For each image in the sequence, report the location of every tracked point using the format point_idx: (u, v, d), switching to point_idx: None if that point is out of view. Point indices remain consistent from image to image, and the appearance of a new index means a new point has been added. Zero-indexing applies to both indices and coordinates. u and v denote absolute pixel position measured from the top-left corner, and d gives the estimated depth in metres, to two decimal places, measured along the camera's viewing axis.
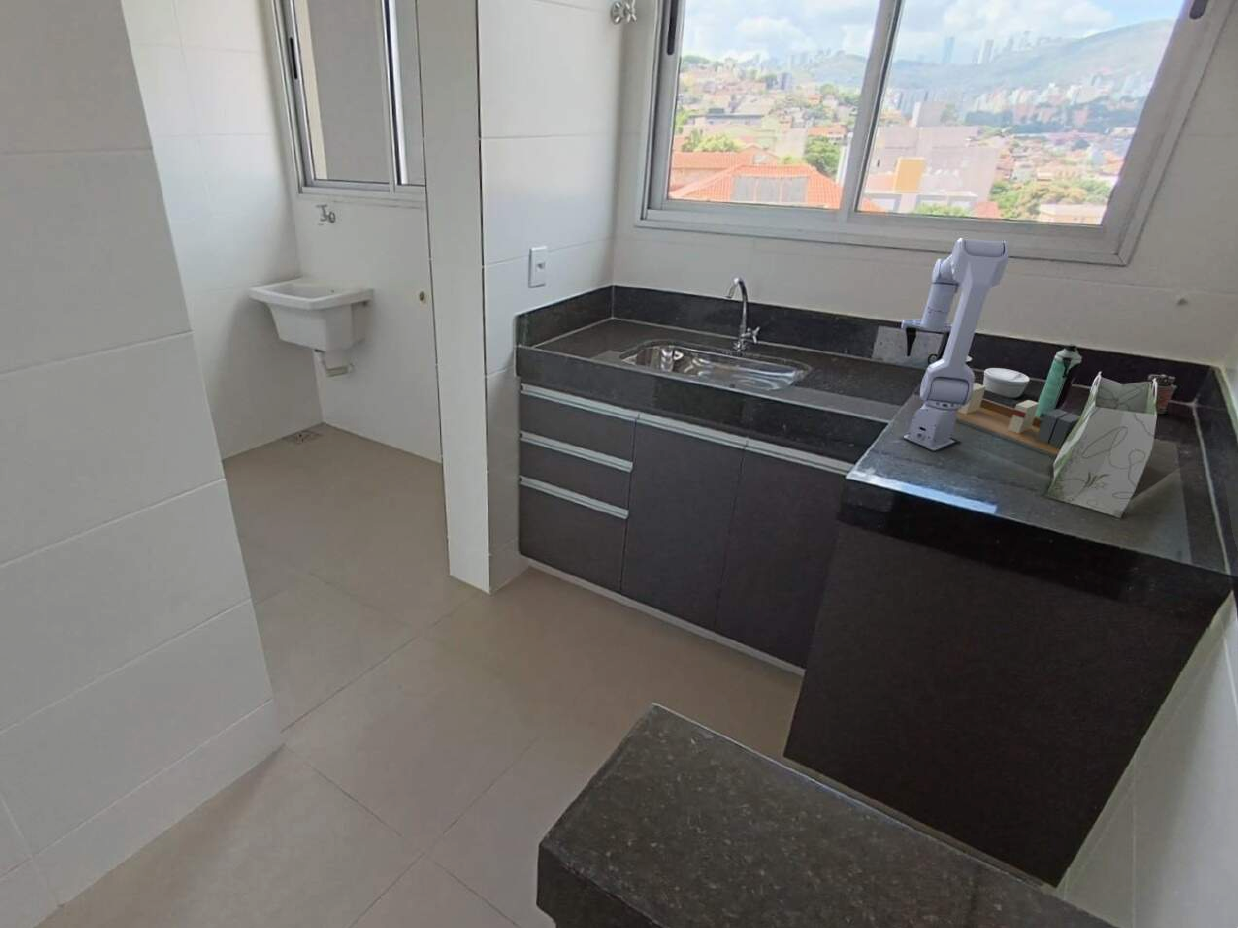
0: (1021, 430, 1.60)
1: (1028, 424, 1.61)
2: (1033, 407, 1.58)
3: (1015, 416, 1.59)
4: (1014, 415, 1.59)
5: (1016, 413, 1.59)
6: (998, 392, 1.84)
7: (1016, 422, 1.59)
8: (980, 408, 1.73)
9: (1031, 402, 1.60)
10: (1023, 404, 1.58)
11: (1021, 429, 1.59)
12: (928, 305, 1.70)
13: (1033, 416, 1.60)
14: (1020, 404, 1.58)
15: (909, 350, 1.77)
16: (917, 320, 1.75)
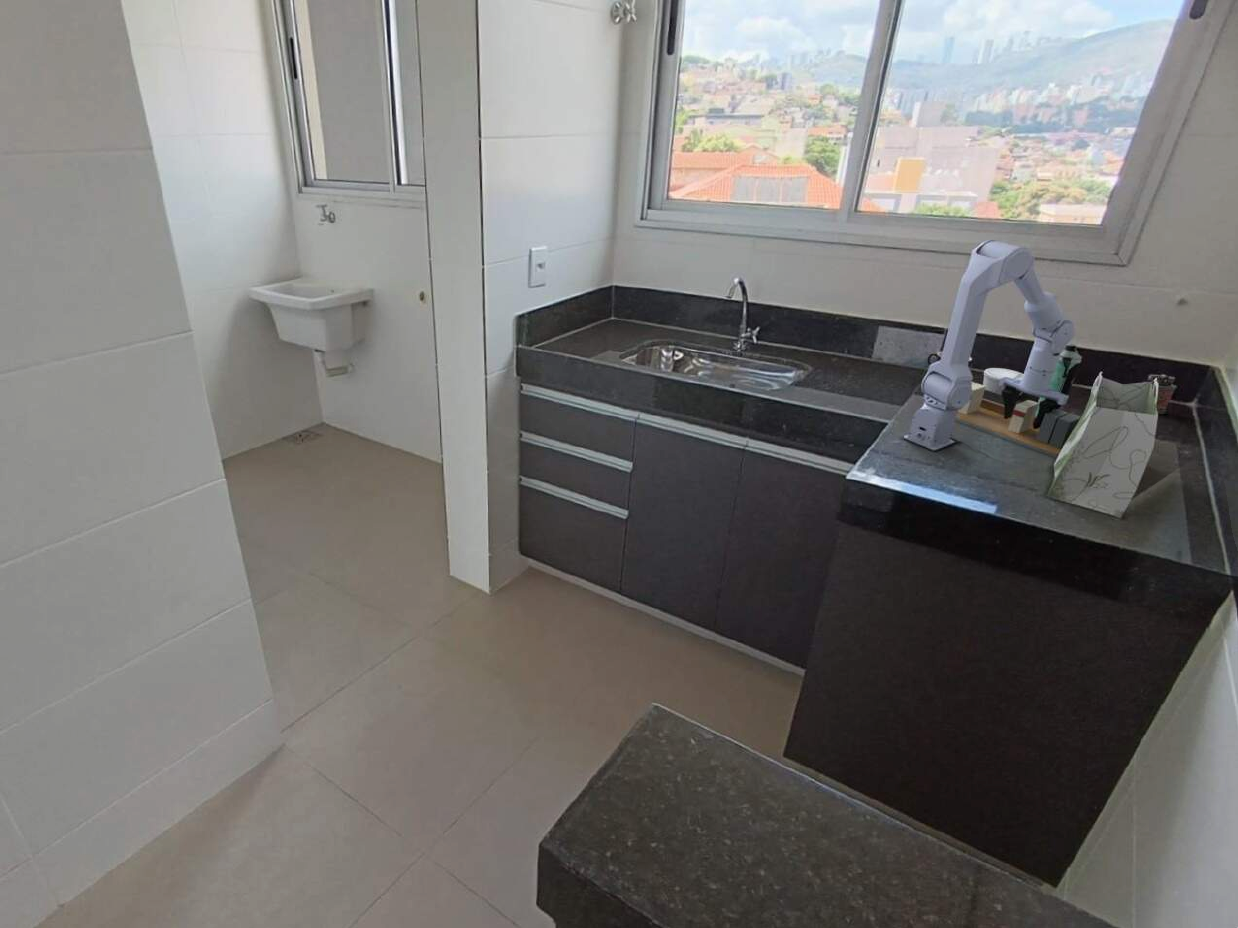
0: (1021, 430, 1.60)
1: (1028, 424, 1.61)
2: (1033, 407, 1.58)
3: (1015, 416, 1.59)
4: (1014, 415, 1.59)
5: (1016, 413, 1.59)
6: (998, 392, 1.84)
7: (1016, 422, 1.59)
8: (980, 408, 1.73)
9: (1031, 402, 1.60)
10: (1023, 404, 1.58)
11: (1021, 429, 1.59)
12: None
13: (1033, 416, 1.60)
14: (1020, 404, 1.58)
15: (1005, 411, 1.62)
16: None
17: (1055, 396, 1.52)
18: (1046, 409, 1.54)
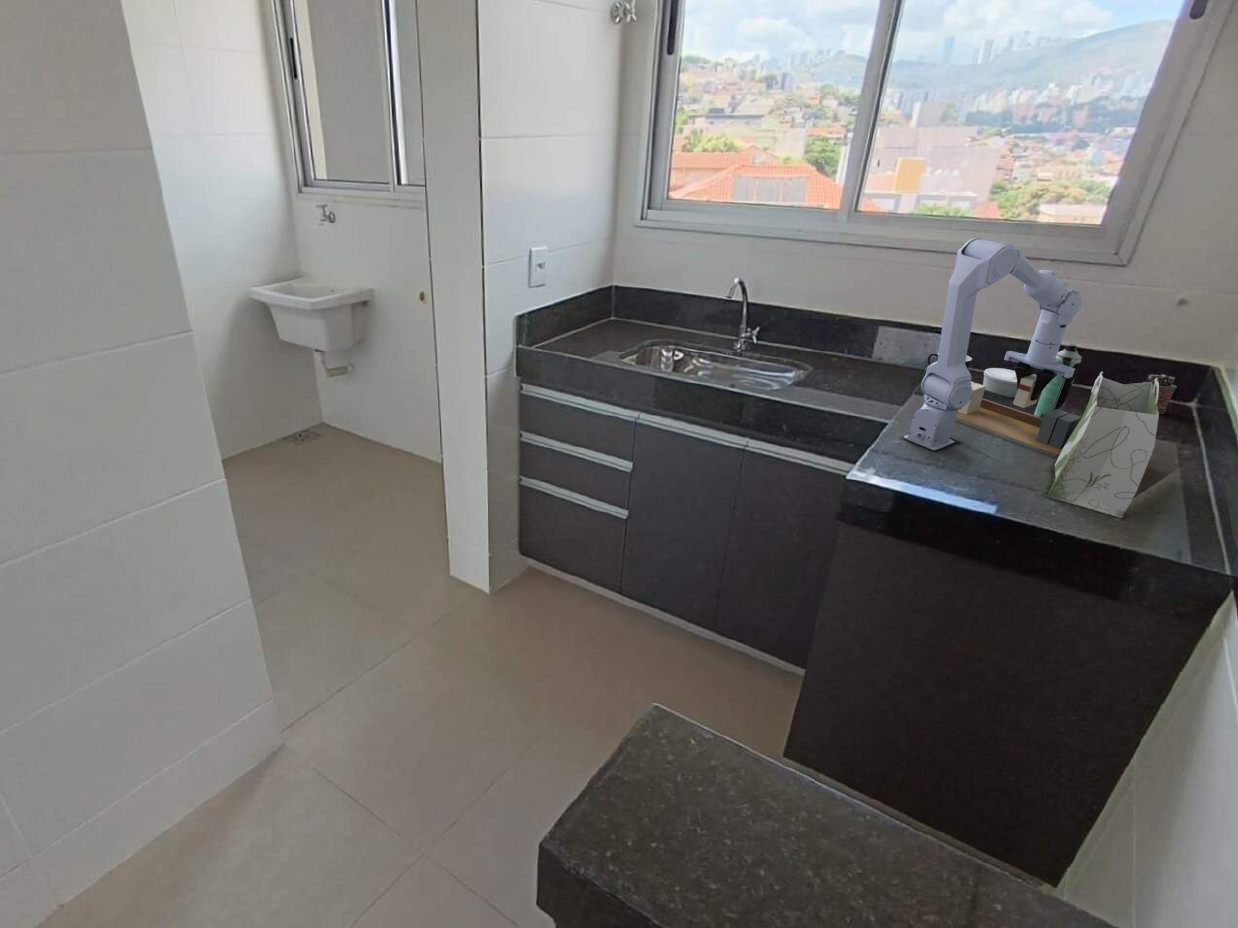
0: (1026, 405, 1.57)
1: None
2: None
3: (1020, 391, 1.57)
4: (1019, 389, 1.57)
5: (1021, 387, 1.56)
6: (998, 392, 1.84)
7: (1021, 396, 1.57)
8: (980, 408, 1.73)
9: (1036, 376, 1.57)
10: (1028, 378, 1.56)
11: (1026, 403, 1.57)
12: None
13: None
14: (1025, 378, 1.56)
15: None
16: (1027, 355, 1.58)
17: (1061, 369, 1.50)
18: (1043, 380, 1.53)
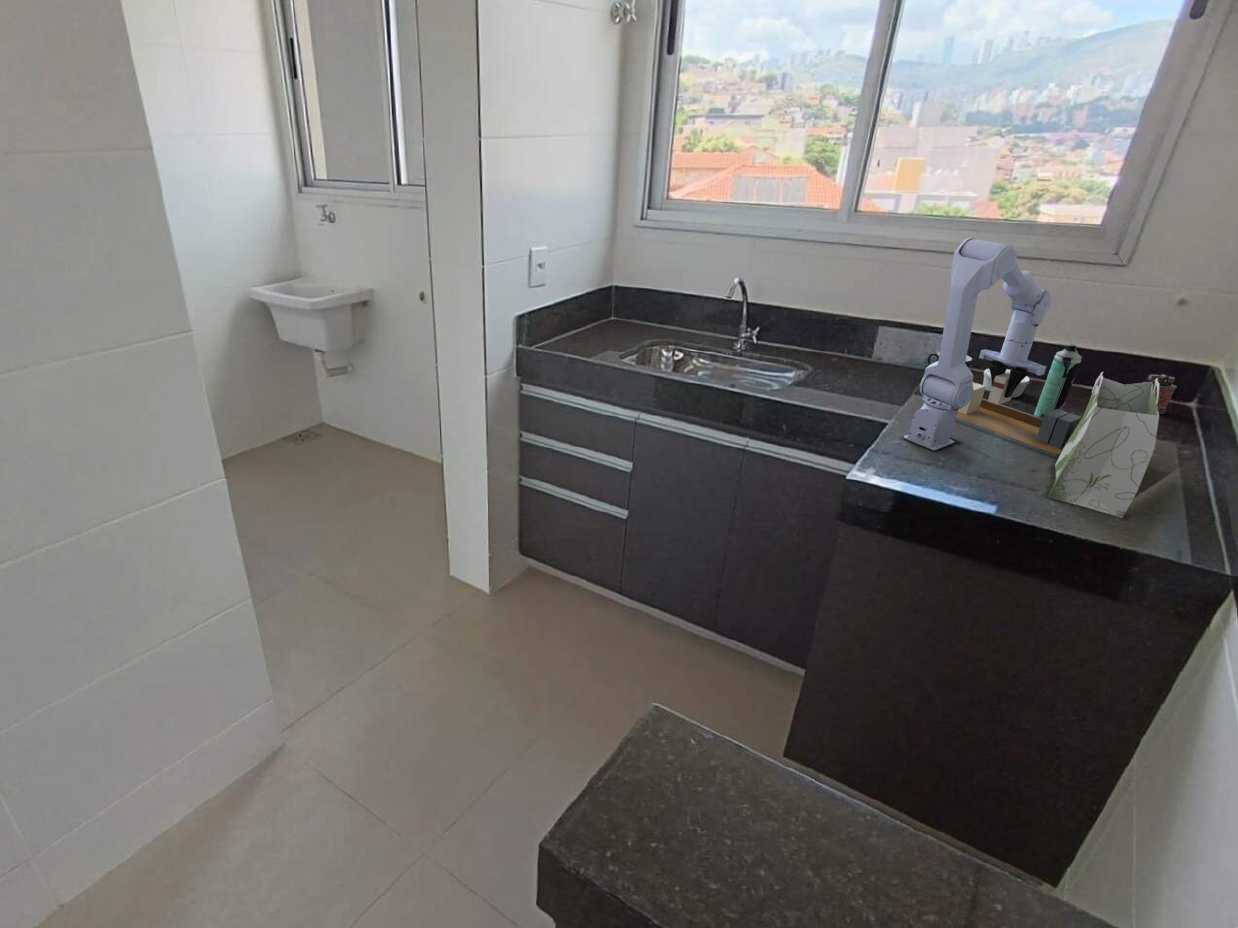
0: (1000, 401, 1.62)
1: None
2: None
3: (994, 388, 1.61)
4: (993, 387, 1.61)
5: (995, 385, 1.61)
6: None
7: (995, 393, 1.61)
8: (980, 408, 1.73)
9: None
10: (1002, 375, 1.61)
11: (1000, 400, 1.61)
12: (1006, 334, 1.58)
13: None
14: (999, 376, 1.61)
15: None
16: None
17: (1033, 367, 1.55)
18: (1016, 377, 1.57)
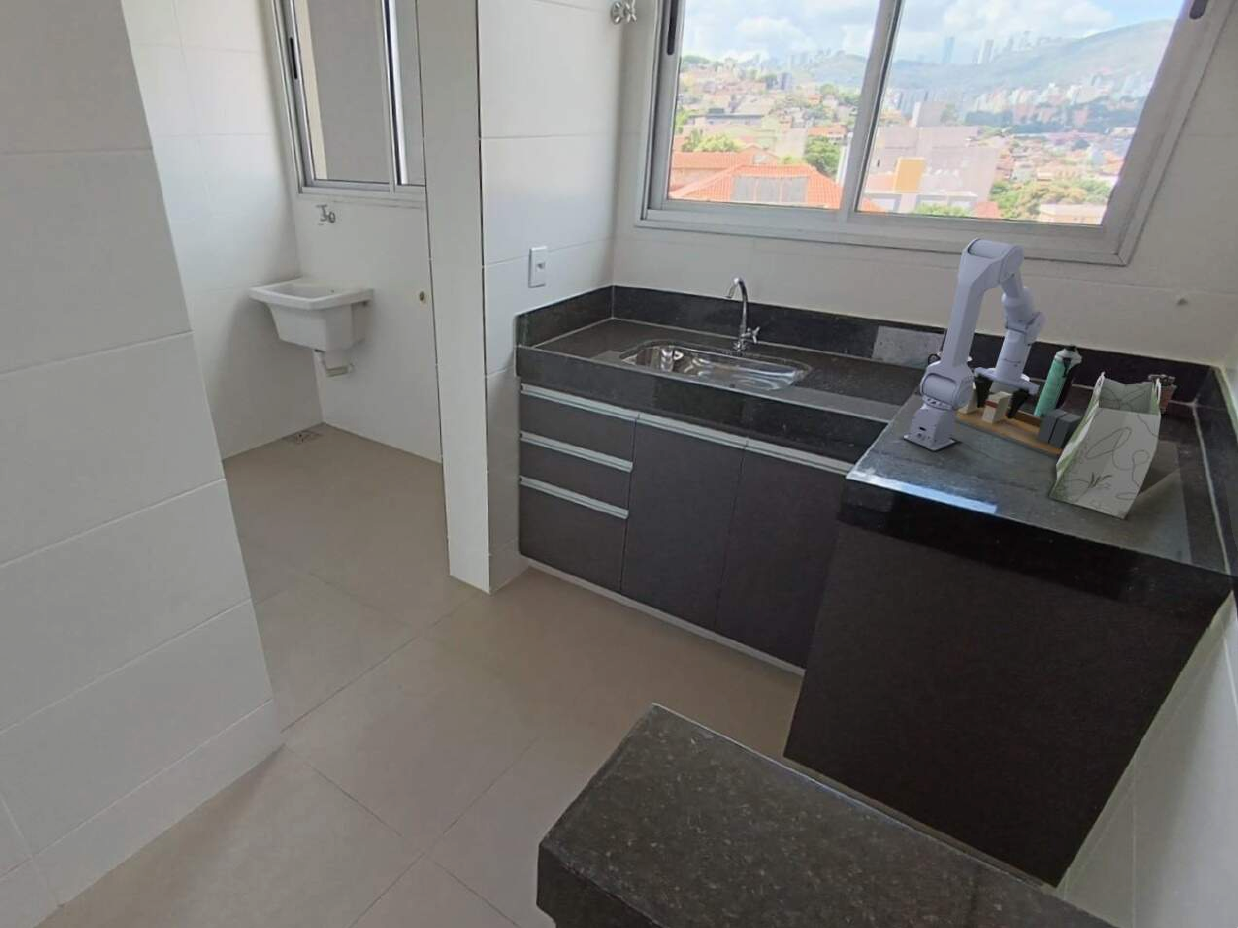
0: (994, 420, 1.64)
1: (1001, 415, 1.65)
2: (1005, 398, 1.63)
3: (988, 407, 1.64)
4: (987, 406, 1.64)
5: (989, 404, 1.63)
6: None
7: (989, 412, 1.64)
8: (980, 408, 1.73)
9: (1004, 393, 1.64)
10: (996, 395, 1.63)
11: (994, 419, 1.64)
12: (1000, 353, 1.60)
13: (1006, 407, 1.65)
14: (993, 395, 1.63)
15: (978, 400, 1.67)
16: None
17: (1026, 386, 1.57)
18: (1019, 399, 1.58)
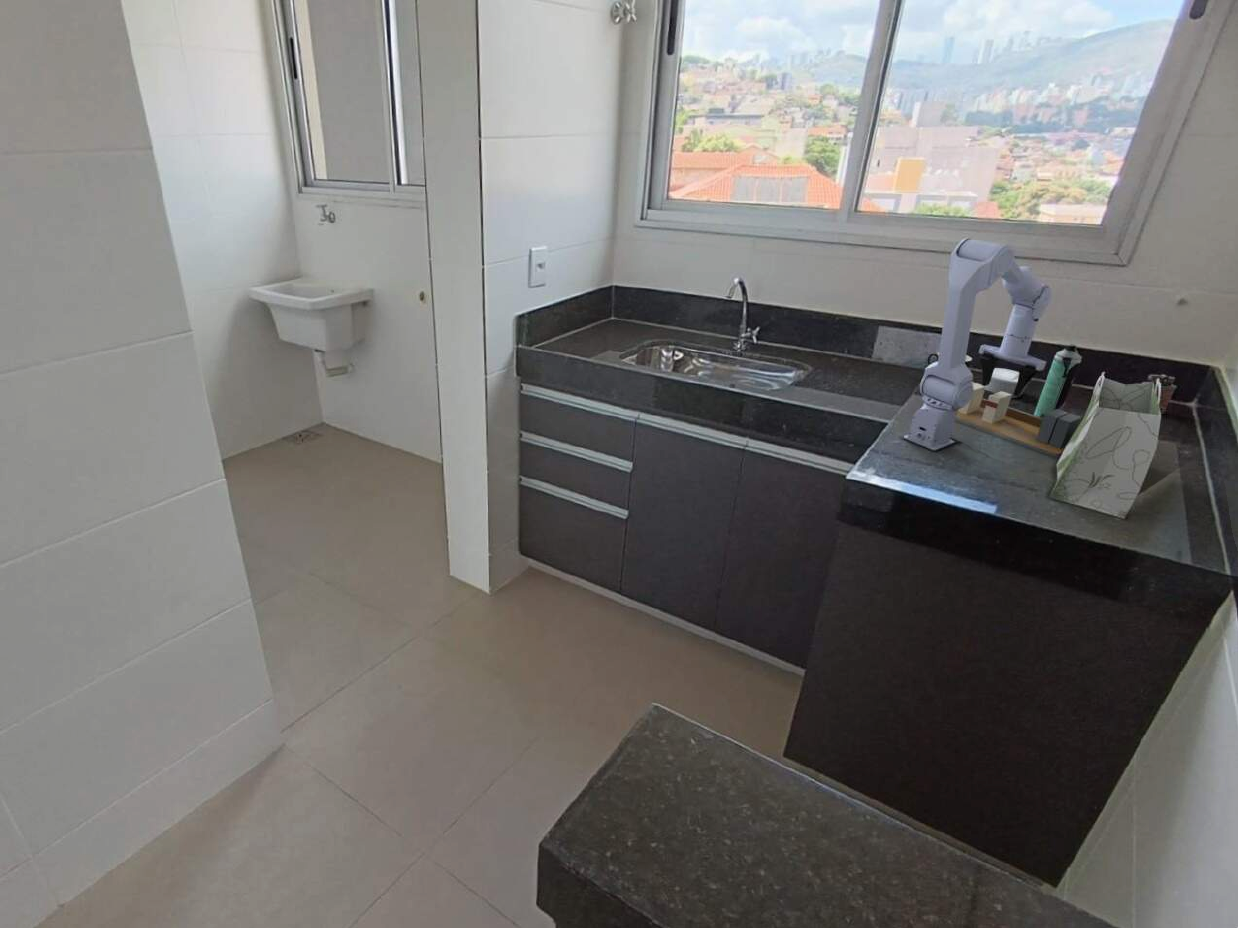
0: (994, 420, 1.64)
1: (1001, 415, 1.65)
2: (1005, 398, 1.63)
3: (988, 407, 1.64)
4: (987, 406, 1.64)
5: (989, 404, 1.63)
6: None
7: (989, 412, 1.64)
8: (980, 408, 1.73)
9: (1004, 393, 1.64)
10: (996, 395, 1.63)
11: (994, 419, 1.64)
12: (1006, 329, 1.58)
13: (1006, 407, 1.65)
14: (993, 395, 1.63)
15: (983, 378, 1.64)
16: None
17: (1033, 362, 1.54)
18: (1026, 375, 1.55)
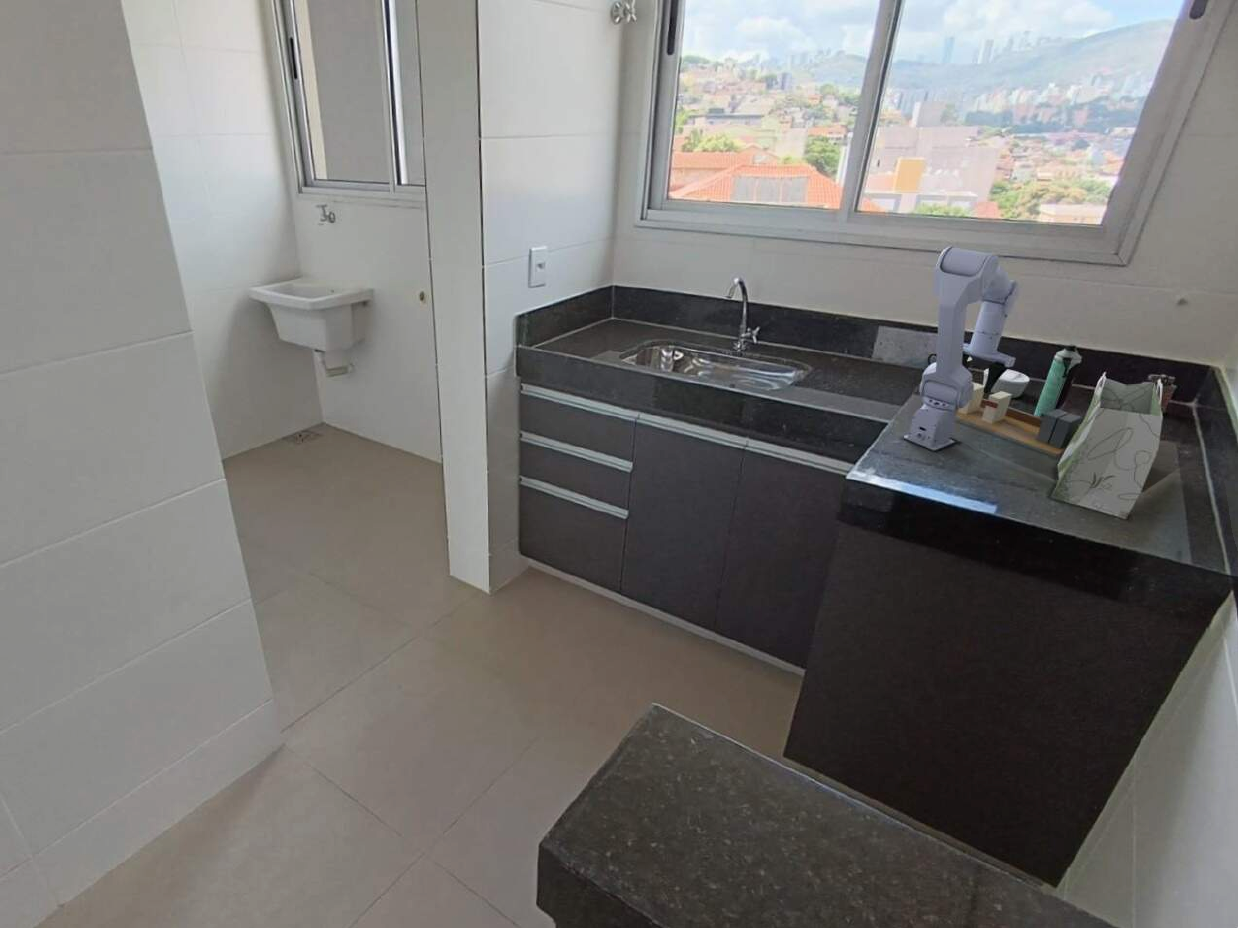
0: (994, 420, 1.64)
1: (1001, 415, 1.65)
2: (1005, 398, 1.63)
3: (988, 407, 1.64)
4: (987, 406, 1.64)
5: (989, 404, 1.63)
6: None
7: (989, 412, 1.64)
8: (980, 408, 1.73)
9: (1004, 393, 1.64)
10: (996, 395, 1.63)
11: (994, 419, 1.64)
12: None
13: (1006, 407, 1.65)
14: (993, 395, 1.63)
15: None
16: None
17: (1002, 358, 1.53)
18: (995, 372, 1.54)
